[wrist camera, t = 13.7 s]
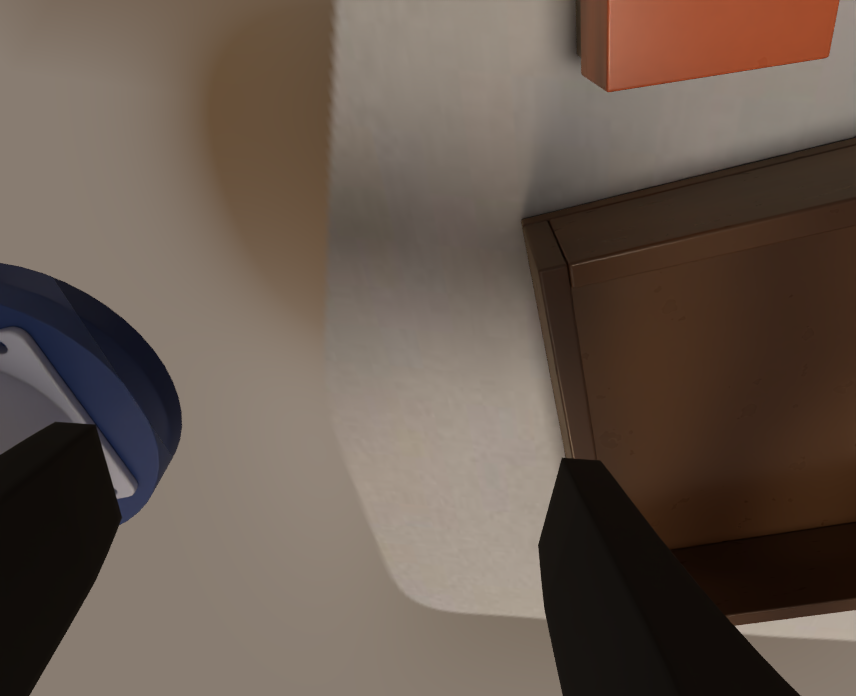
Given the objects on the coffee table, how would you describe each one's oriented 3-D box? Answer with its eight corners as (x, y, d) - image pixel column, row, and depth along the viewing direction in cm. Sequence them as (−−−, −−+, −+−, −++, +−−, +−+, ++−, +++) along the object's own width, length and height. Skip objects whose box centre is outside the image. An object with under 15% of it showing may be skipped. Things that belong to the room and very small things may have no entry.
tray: (585, 562, 24) (605, 643, 21) (520, 219, 16) (537, 270, 14) (910, 514, 22) (981, 594, 19) (1010, 98, 15) (1155, 128, 12)
